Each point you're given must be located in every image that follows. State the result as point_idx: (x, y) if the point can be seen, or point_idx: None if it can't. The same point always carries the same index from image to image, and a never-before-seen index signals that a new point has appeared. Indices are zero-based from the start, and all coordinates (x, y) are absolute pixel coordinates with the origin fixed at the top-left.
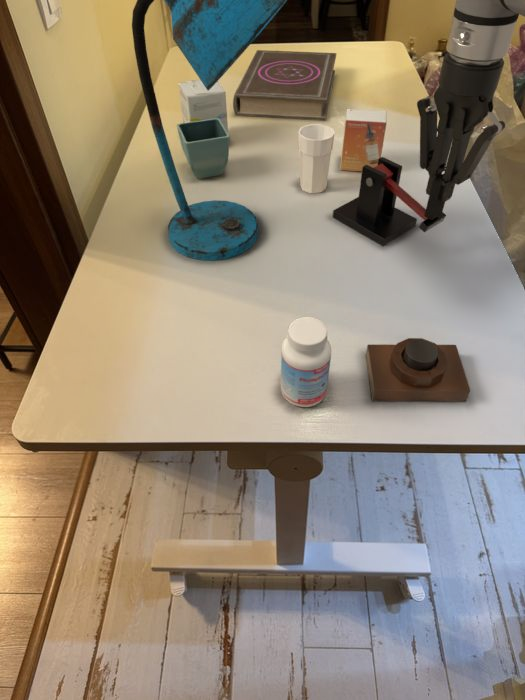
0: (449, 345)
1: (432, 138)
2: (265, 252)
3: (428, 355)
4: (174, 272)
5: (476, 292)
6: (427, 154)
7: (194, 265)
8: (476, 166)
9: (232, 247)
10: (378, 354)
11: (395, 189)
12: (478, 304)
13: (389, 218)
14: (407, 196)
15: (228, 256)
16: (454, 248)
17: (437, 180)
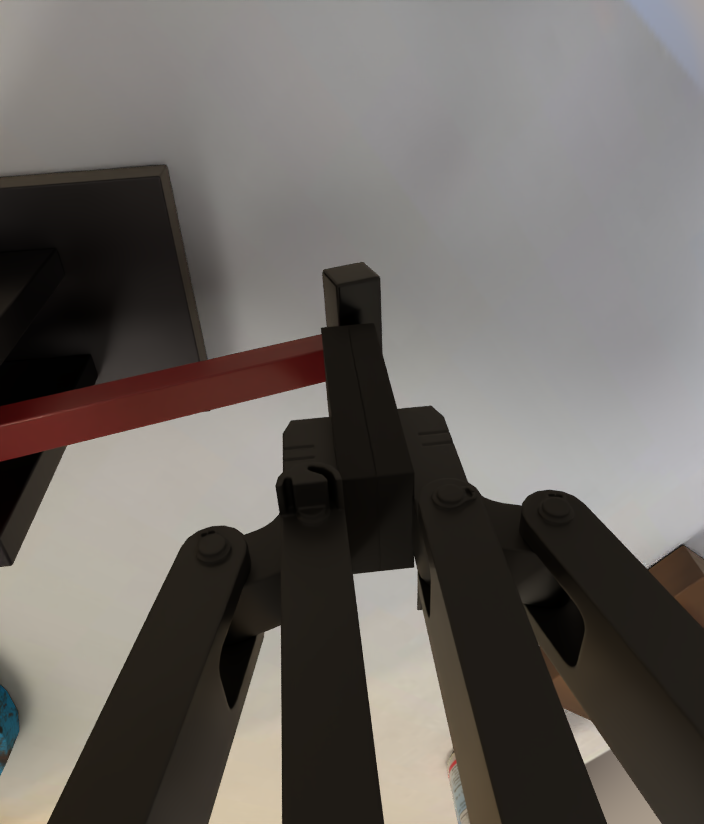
0: (692, 588)
1: (185, 797)
2: (38, 659)
3: None
4: (19, 801)
5: (636, 318)
6: (238, 708)
7: (12, 773)
8: (659, 587)
9: (3, 743)
10: (567, 692)
11: (77, 441)
12: (667, 359)
13: (82, 289)
14: (160, 409)
15: (16, 728)
16: (421, 156)
17: (376, 567)
